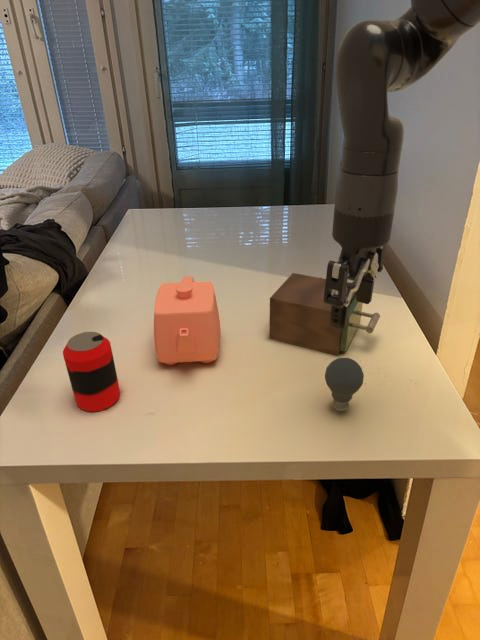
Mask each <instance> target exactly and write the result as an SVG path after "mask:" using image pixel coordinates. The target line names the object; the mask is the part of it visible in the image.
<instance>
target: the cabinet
mask: <svg viewBox="0 0 480 640" xmlns="http://www.w3.org/2000/svg"><path fill="white" fill-rule="evenodd" d="M325 283H326V278H322V277H317V276H312V275H306V274H301V273H297V272H292V273H291V274H290V275H289V276H288V277H287V279H285V281H284V282H283V283H282V284H281V285H280V286H279V287H278V289H277V290H276V291H275V292H273V294H272V295H271V296H270V297H269V327H268V328H269V329H268V330H269V331H268V332H269V338H268V339H269V340H273V341H278V342H280V343H281V342H282V343H285V344H289V345H294V346H298V347H301V348H305V349H308V350H313V351H317V352H322V353H325V354H329V355H333V356H339V354H340V353H341V351H340V350H339V349H340V340H341V331H342V329H340V328H337V327H334V326H332V325H331V324H330V318H331V308H332V305H329V304H326V303H324V302H323V301H324V292H325ZM332 290H333V289H332ZM346 292H347V289H346ZM331 293H332V292H331ZM356 294H357V291H355V292H353V294H352V297H351V300H350V303H349V305H350V304H351V302H352V301H353V299H354V297H355V296H356ZM345 295H346V293H345Z"/></svg>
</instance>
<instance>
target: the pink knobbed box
mask: <svg viewBox="0 0 480 640" xmlns="http://www.w3.org/2000/svg"><path fill="white" fill-rule="evenodd" d="M194 279H195V277H194V276H182V278H181V282H180V281H178V282H164V283H163V282H162V283H161V284H160V285H159V287H158V290H157V293H156V296H155V301H154V308H153V341H154V342H153V344H154V350H155V354H156V357H157V360H158V361H159V363H164V364H166V365H167V366H169V365H170V366H172V365H175V364H177V363H191V362H193V363H194V362H201V363H203V364H209V363H212V362H214V361H215V360H217V358H218V355H219V350H220V344H221V321H220V320H221V319H220V313H219V308H218V307H219V306H218V302H217V298H216V297H217V296H216V293H215V288H214V284H213V282H212V281H211V280H209V281H207V280H206V281H205V280H204V281H195V280H194Z"/></svg>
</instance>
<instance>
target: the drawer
mask: <svg viewBox="0 0 480 640" xmlns="http://www.w3.org/2000/svg"><path fill="white" fill-rule="evenodd" d="M363 305H364V303H361V302H358V301H357V300H356V296H355V297H354V299H353V301H352V302H351V304H350V305H349V310H348V318H347V325H346V327H345V328H343V329H342V331H341V340H340V349H339V350H340V352H345V353H346V352H347V349H348V347H349V345H350V344H351V342H352V340H353V338H354V336H355V335H356V332H357V330H358V329H360V330H363V331H365V332H366V333H368V334H372V333H373V332H374V330H375V329H376V326H377V324H378V322H379V320H380V318H381V314H380V313H379V312H374V313H370V312H366V311H363ZM362 317H367V318H370V319H369V321H368V323H367V325H363V324H361V320H362Z"/></svg>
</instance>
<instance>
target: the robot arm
mask: <svg viewBox="0 0 480 640" xmlns="http://www.w3.org/2000/svg"><path fill="white" fill-rule="evenodd" d="M478 24H480V0H410V7H409V8H408V9H407V10H406V11H405V12H404V13H403V14H402V15H400V16H399V17H397V18H396V19H366V20H361V21H359V22H357V23H355V24H354V25H352V26H351V27H350V28H349V29H348V30H347V32H346V33H345V34H344V35H343V37H342V40H341V41H340V44H339V46H338V49H337V53H336V57H335V63H334V80H335V81H334V82H335V89H336V96H337V103H338V111H339V117H340V123H341V128H342V143H341V153H340V163H339V164H340V165H339V172H338V177H337V181H336V187H335V197H334V207H333V208H334V209H333V220H332V230H331V231H332V232H331V236H332V239H333V241H335V242H336V243H338V244H339V246H340V247H341V250H340V254H339V256H338V259H337V261H334V260H329V261H328V262H327V266H326V274H325V279H326V283H325V292H324V301H323V302H324V303H326V304H329V305H332V308H331V318H330V324H331V325H332V326H334V327H337V328H340V329H343V328H345V327H346V325H347V318H348V310H349V303H350V300H351V297H352V294H353V292H355V291H357V294H356V300H357V301H358V302H361V303H363V305H364V304H365V305H369V304H370V303H371V302H372V299H373V294H374V285H375V281H376V280H377V279H378V277H379V276H378V275H379V274H378V273H381V272H382V270H383V269H384V261H385V254H386V248H387V247H386V245H387V244H388V243H389V242H390V240H391V235H392V229H393V222H394V215H395V211H396V203H397V202H396V201H397V198H398V190H399V189H398V188H399V169H400V163H401V157H402V150H403V145H404V138H405V137H404V136H405V135H404V134H405V129H404V124H403V122H402V121H401V120H400V119H399V118H397V117H395V116H392V115H390V114H389V113H390V112H389V101H388V100H389V99H388V93H393V92H398V91H402V90H404V89H407V88H409V87H410V86H412V85H414V84H415V83H417V82H418V81H420V80H421V79H423V78H424V77H425V76H426V75H427V74H429V72H431V71H432V70H433V69H434V68H435V66H437V65H438V64H439V62H440V61H441V60H442V59H443V58H444V57H445V56H446V55H447V54H448V53H449V51H451V49H453V47H454V46H455V45H456V44H457V42H458V41H459V40H460V38H461V37H462V36H464V34H466V33H468V32H469V31H470V30H472V29H473V28H474V27H476V26H478ZM348 280H349V281H352V282H349V281H348ZM332 289H333V290H332ZM346 289H347V292H346ZM331 292H332V293H331ZM345 293H346V295H345Z"/></svg>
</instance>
